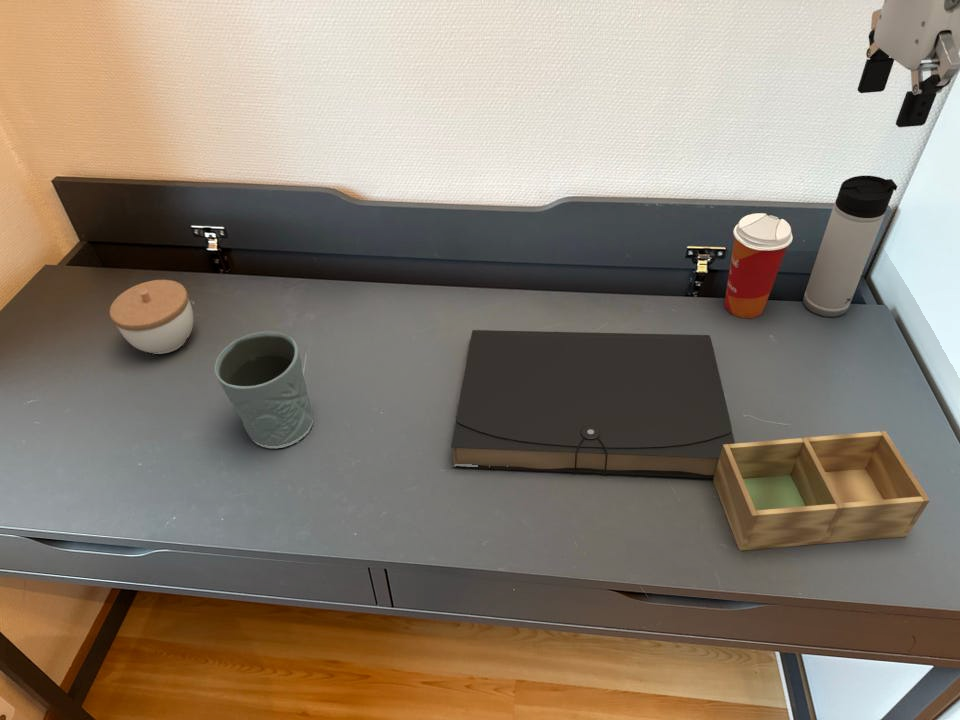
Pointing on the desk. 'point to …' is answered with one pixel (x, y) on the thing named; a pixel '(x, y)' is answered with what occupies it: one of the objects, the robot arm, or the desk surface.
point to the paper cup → (755, 262)
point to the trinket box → (154, 315)
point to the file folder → (592, 404)
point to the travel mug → (847, 243)
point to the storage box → (817, 490)
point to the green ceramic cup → (266, 386)
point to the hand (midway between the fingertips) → (889, 107)
